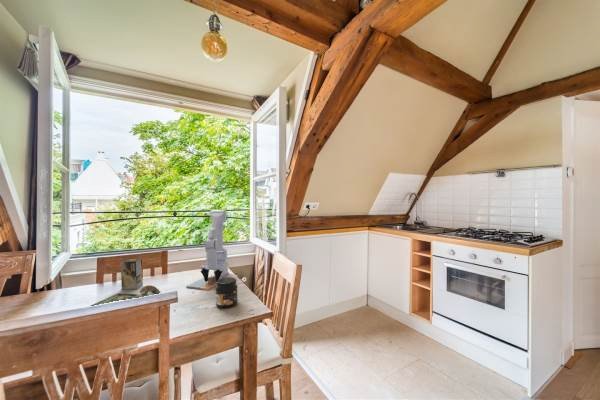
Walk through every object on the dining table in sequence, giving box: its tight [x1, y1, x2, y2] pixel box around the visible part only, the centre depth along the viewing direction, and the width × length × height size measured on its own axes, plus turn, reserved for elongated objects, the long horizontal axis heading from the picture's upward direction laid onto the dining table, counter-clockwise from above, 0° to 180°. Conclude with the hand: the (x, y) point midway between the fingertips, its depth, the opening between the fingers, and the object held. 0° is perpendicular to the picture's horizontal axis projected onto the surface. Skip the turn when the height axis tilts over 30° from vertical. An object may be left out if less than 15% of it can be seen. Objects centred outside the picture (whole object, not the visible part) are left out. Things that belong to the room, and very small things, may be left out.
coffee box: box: [120, 258, 144, 290], centre depth 148 cm, size 9×6×16 cm
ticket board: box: [186, 277, 208, 290], centre depth 152 cm, size 15×9×1 cm, turn 163°
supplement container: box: [214, 276, 239, 309], centre depth 123 cm, size 10×10×12 cm
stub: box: [199, 275, 217, 291], centre depth 149 cm, size 15×5×5 cm, turn 163°
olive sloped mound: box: [90, 285, 162, 306], centre depth 126 cm, size 33×8×20 cm
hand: (211, 281), depth 149 cm, fingers open, 7 cm apart
